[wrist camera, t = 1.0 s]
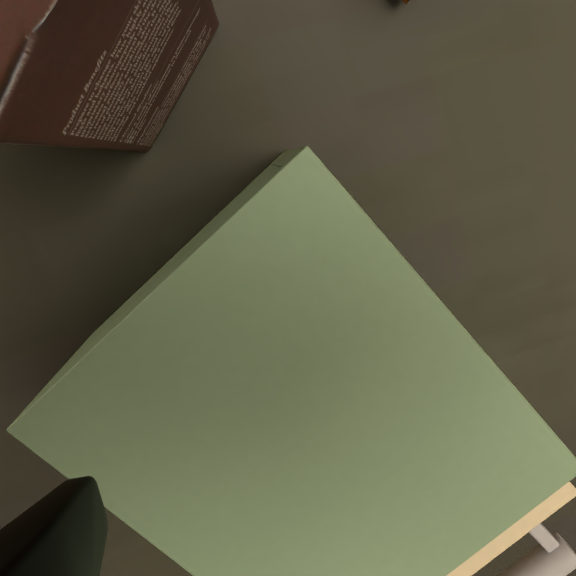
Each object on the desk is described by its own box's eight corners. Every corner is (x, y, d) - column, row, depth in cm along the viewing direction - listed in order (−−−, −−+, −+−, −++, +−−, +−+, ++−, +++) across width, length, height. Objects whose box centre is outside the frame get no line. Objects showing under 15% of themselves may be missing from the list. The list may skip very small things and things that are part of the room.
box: (116, -51, 18) (-128, -436, 6) (222, 24, 19) (177, -191, 7) (42, 94, 19) (-284, -6, 7) (146, 159, 20) (0, 160, 8)
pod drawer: (554, 473, 24) (654, 577, 18) (395, 595, 26) (441, 731, 20) (321, 211, 20) (352, 235, 14) (145, 373, 21) (103, 459, 15)
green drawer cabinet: (474, 366, 23) (586, 469, 16) (297, 512, 25) (319, 674, 17) (285, 150, 20) (307, 145, 12) (93, 332, 22) (5, 430, 14)
